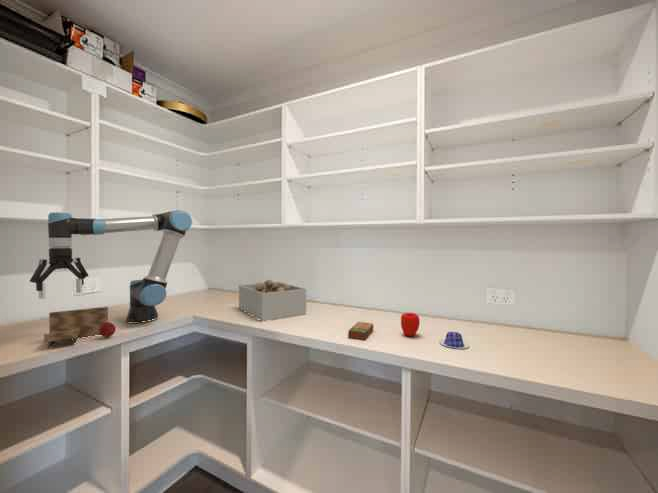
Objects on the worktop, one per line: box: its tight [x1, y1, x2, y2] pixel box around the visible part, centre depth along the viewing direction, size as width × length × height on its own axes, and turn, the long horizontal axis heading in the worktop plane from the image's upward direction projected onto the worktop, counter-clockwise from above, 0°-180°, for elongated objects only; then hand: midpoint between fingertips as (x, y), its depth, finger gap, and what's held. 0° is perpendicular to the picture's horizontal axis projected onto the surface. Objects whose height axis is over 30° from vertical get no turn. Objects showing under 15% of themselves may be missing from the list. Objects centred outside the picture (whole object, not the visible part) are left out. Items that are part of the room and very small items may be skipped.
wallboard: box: [48, 306, 109, 343], centre depth 129 cm, size 20×2×13 cm, turn 127°
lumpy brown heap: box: [255, 279, 291, 293], centre depth 183 cm, size 38×26×20 cm
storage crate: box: [238, 281, 307, 322], centre depth 182 cm, size 29×38×16 cm
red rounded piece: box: [400, 312, 420, 337], centre depth 136 cm, size 9×9×11 cm
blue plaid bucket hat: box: [439, 331, 470, 350], centre depth 125 cm, size 12×12×5 cm
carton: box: [347, 321, 374, 341], centre depth 138 cm, size 8×16×4 cm, turn 157°
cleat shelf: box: [43, 329, 80, 349], centre depth 121 cm, size 10×11×7 cm
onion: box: [99, 320, 116, 339], centre depth 130 cm, size 6×6×8 cm
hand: (61, 295), depth 125 cm, fingers open, 13 cm apart
